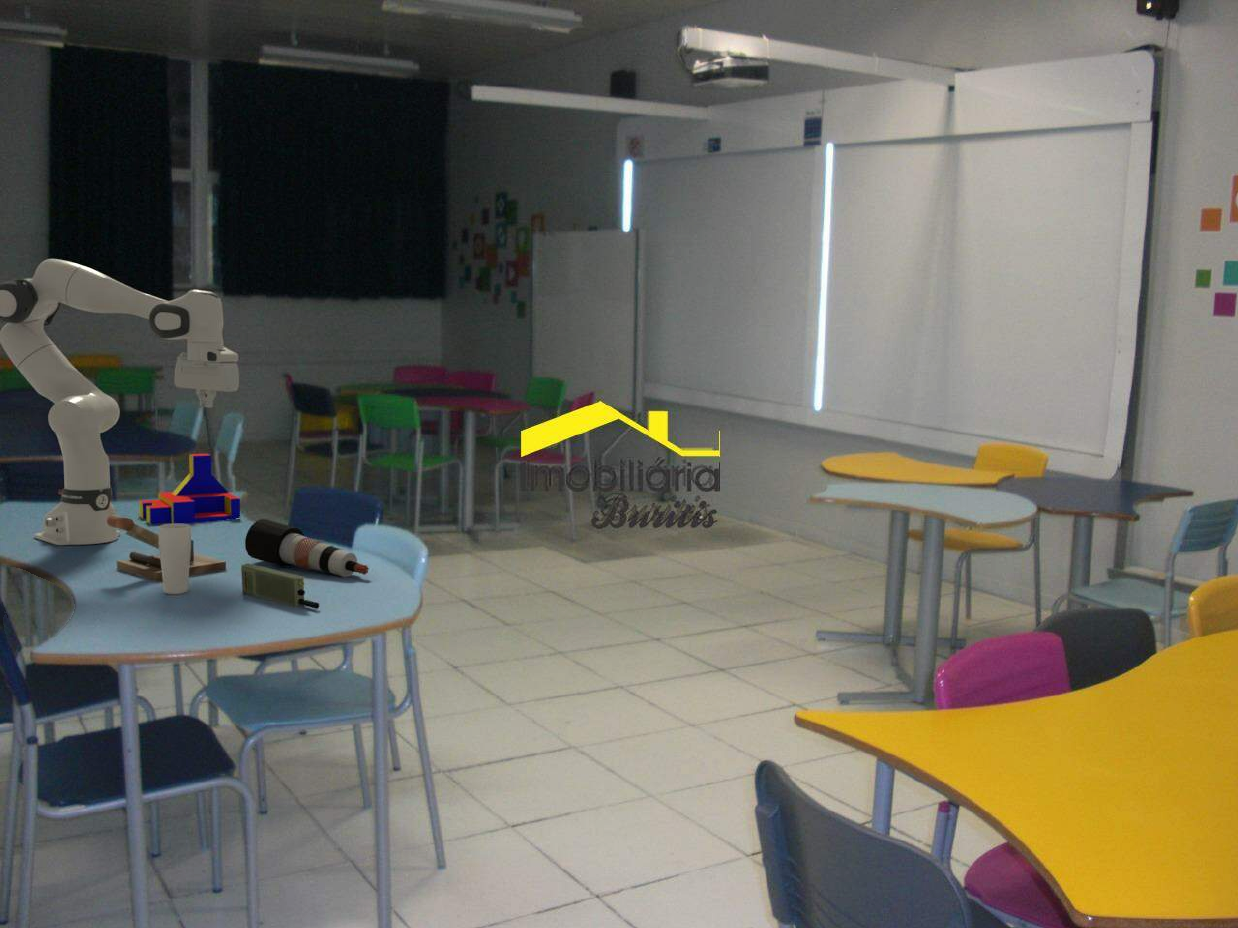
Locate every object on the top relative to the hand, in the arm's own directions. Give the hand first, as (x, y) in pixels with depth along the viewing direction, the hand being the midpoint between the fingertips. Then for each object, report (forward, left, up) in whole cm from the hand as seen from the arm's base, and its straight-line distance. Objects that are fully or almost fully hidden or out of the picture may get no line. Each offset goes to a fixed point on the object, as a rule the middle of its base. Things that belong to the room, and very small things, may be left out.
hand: (206, 407), depth 311 cm
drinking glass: (+32, -38, -37) cm, 62 cm away
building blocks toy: (-39, +28, -38) cm, 61 cm away
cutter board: (+13, -23, -37) cm, 45 cm away
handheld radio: (+56, -30, -38) cm, 74 cm away
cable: (+40, -4, -38) cm, 55 cm away
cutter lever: (+14, -19, -34) cm, 41 cm away
